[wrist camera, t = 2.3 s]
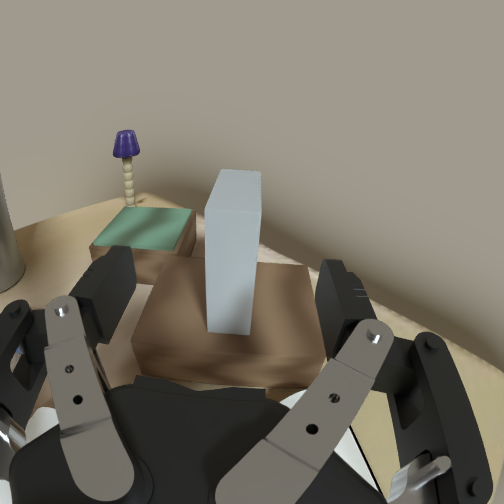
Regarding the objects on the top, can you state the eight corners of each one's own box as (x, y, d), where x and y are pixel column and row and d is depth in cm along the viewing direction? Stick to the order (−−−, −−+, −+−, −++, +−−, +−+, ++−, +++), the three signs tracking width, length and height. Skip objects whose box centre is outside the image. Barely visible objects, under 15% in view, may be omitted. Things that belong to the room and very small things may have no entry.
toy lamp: (150, 221, 51) (144, 129, 42) (128, 230, 47) (119, 134, 39) (136, 214, 53) (130, 127, 44) (115, 222, 50) (106, 132, 41)
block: (207, 331, 24) (204, 208, 18) (219, 269, 31) (221, 169, 26) (249, 335, 24) (261, 212, 18) (251, 272, 32) (260, 171, 26)
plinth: (97, 278, 36) (88, 243, 33) (127, 235, 46) (123, 205, 43) (179, 287, 36) (176, 250, 33) (196, 239, 46) (195, 208, 43)
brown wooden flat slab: (142, 374, 25) (130, 340, 22) (171, 289, 36) (167, 255, 33) (312, 387, 25) (326, 355, 22) (299, 298, 36) (307, 265, 33)
